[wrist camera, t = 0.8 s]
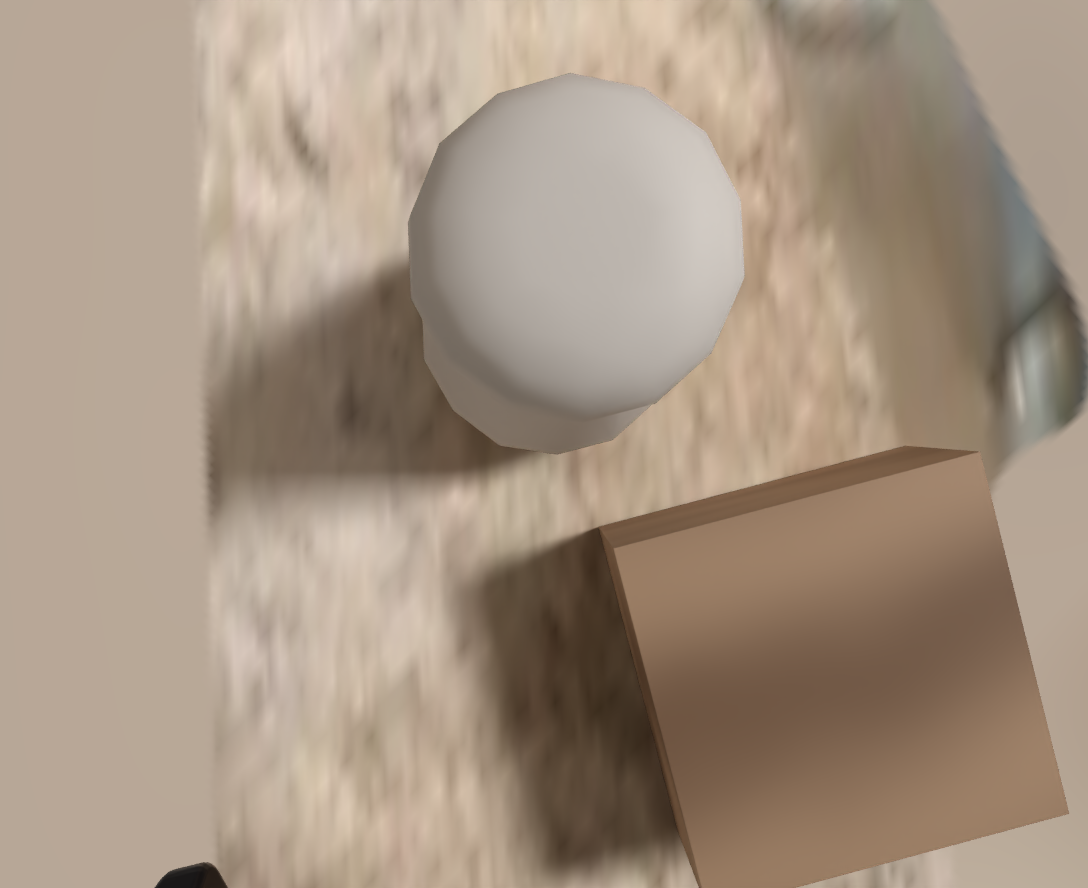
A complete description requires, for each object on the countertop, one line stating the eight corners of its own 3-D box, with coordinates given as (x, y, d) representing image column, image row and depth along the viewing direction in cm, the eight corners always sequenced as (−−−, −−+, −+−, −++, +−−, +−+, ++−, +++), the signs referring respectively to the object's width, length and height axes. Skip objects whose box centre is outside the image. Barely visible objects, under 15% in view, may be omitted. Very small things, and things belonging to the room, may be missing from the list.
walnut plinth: (980, 749, 25) (1069, 813, 21) (678, 831, 25) (708, 911, 21) (905, 445, 25) (979, 451, 21) (598, 526, 24) (613, 548, 20)
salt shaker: (536, 497, 24) (551, 590, 11) (383, 323, 24) (222, 216, 11) (711, 342, 24) (927, 259, 11) (560, 168, 24) (605, -120, 11)
